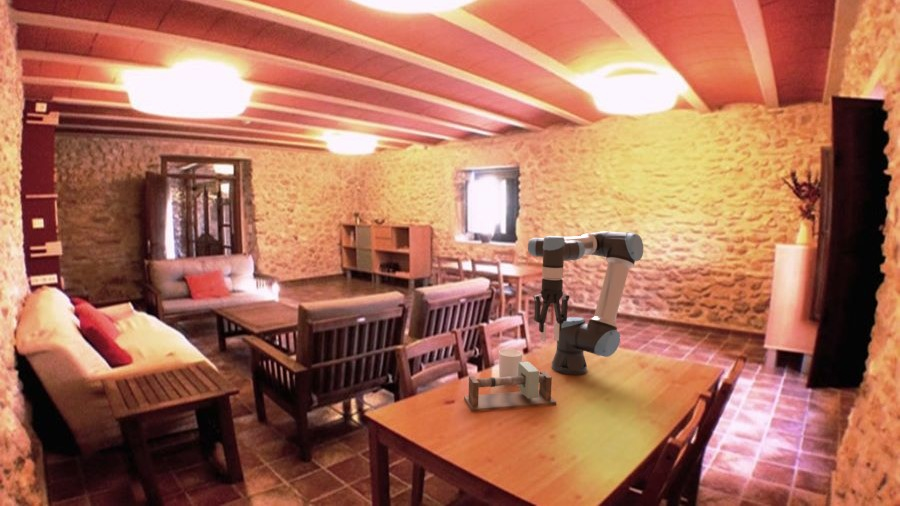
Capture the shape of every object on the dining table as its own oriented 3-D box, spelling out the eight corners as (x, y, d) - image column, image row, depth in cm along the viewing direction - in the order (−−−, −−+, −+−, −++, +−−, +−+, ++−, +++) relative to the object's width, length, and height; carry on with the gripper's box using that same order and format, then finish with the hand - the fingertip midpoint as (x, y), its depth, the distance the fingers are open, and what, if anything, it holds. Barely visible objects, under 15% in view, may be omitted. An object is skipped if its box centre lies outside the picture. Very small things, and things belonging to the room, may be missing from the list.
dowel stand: (543, 392, 174) (544, 368, 173) (556, 404, 163) (557, 379, 162) (464, 398, 167) (464, 373, 166) (471, 412, 156) (472, 385, 155)
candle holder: (520, 376, 190) (521, 349, 188) (522, 385, 180) (523, 357, 179) (497, 375, 191) (498, 348, 189) (497, 384, 181) (498, 355, 180)
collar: (527, 386, 172) (528, 361, 171) (538, 397, 162) (539, 371, 161) (517, 387, 171) (518, 362, 170) (527, 398, 161) (528, 371, 160)
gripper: (569, 276, 169) (566, 336, 172) (525, 277, 165) (523, 338, 168) (579, 279, 162) (576, 342, 164) (534, 280, 158) (531, 344, 161)
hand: (549, 340), depth 166 cm, fingers open, 4 cm apart
